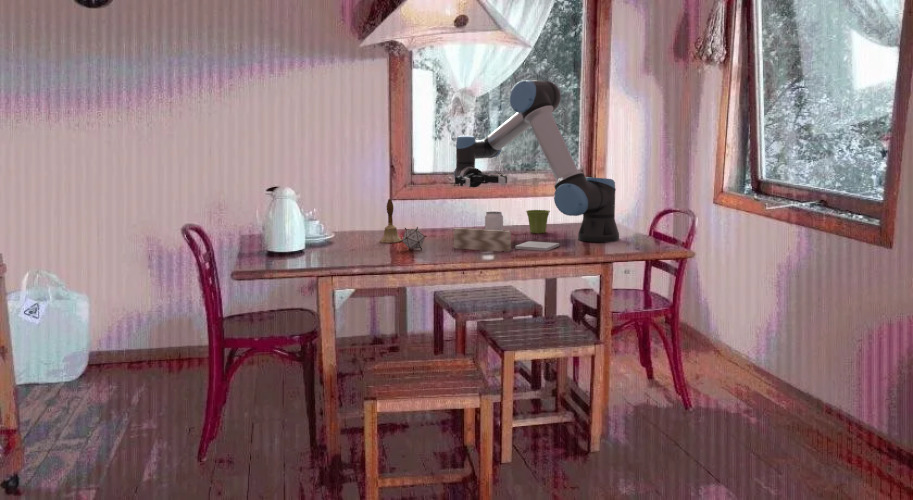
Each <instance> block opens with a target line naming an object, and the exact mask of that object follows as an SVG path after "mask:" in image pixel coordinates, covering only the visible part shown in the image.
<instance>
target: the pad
mask: <svg viewBox="0 0 913 500" xmlns="http://www.w3.org/2000/svg"><path fill="white" fill-rule="evenodd" d="M558 247H560V242H546V241H545V242H544V241H532V240H531V241H530V240H528V241H525V242H522V243H520V244H517V245H514V249H515V250H528V251H540V252H547V251H551V250H553V249H555V248H558Z"/></svg>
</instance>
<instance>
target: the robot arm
mask: <svg viewBox="0 0 913 500" xmlns="http://www.w3.org/2000/svg"><path fill="white" fill-rule="evenodd" d="M561 99H562V95H561V90H560V88H559V87H558V86H557V85H556V84H555V83H554V82H553V81H550V80H531V79H526V80H520V81H518V82H516V83H515V84H514V85H513V87H512V88H511V90H510V95H509V105H510V107H511V109H512V110H513V111H514V112H515V114H513V115H512V116H511V117H509V118H508V119H507V120H506V121H504V122H503V123H502V124H501V125H500V126H498V127H497V128H496V129H494V131H492V132H491V133H490V134H489V135H487V136H486V137H485V138H484V139H476V137H475V136H474V135H459V136H457V137H456V144H455V148H456V149H455V154H456V159H455V160H456V163H455V169H454V171H453V177H454V185H459V187H464V185H465V186H467V187H469V188H478V187H479V186H481V185H482V184H489V183H494V184H495V183H496V184H499V185H502V186H506V184H507V183H508V176H507V175H503V174H500V175H497V174H492V173H491V174H488V173H483V172H482V171H481V170H480V169H479V168H477V167H476V160H477V159H492V158H497V157H499V155H501V152H502V149H503V148H504V147H506V146H507V145H508V144H510V143H511V142H512V141H513V140H515V138H517V137H518V136H520V135H521V134H522V133H523V132H525V131H526V130H527V129H528V128H530V127H531V129H532V131H533V133H534V135H535V137H536V140H537V142H538V144H539V146H540V149H541V151H542V153H543V155H544V157H545V160H546V162H547V164H548V166H549V168H550V170H551V173H552V175H553V177H554V179H555V183H554V185H553V187H554V197H553V201H554V205H555V206H556V208H557V209H558V211H559V212H560V213H562V214H564V215H566V216H569V217H572V216H573V217H577V216H582V220H581V224H580V228H579V230H578V234H577V239H578V240H579V241H582V242H589V243H590V242H591V243H612V242H616V241H619V240H620V232H619V229H618V226H617V223H616V218H615V213H616V190H617V188H616V182H615V180H614V179H612V178H605V177H591V176H587V177H586V175H585V173H584V172H582V171H579V170H578V167H577V166H576V164H575V162H574V160H573V157H572V155H571V153H570V150H569V149H568V146H567V145H566V142H565V140H564V137H563V136H562V134H561V132H560V129H559V127H558V125H557V123H556V121H555V118H554V116H553V112H554V111H556V110H557V108H558V107H559V106H560V103H561Z"/></svg>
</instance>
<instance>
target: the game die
mask: <svg viewBox="0 0 913 500" xmlns="http://www.w3.org/2000/svg"><path fill="white" fill-rule="evenodd" d="M404 230H405V231H404V234H403V237H402V238H401V239H402V241H400V242H399V243H401V242H402V243H403V244H404V245H405V246H406V248H408V252H409V251H411V250H414V249H415V250H416V249H420V250H421V251H422V250H423V248H422V245H423V243H424V240H425V238H426V237H428V235H424V234H423V232H421V231H420V229H419V227H418V226H417V227H416V228H406V227H404Z"/></svg>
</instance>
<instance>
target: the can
mask: <svg viewBox="0 0 913 500" xmlns="http://www.w3.org/2000/svg"><path fill="white" fill-rule="evenodd" d="M484 229H487V230H504V217H503V213H502V211H486V213H485V216H484Z"/></svg>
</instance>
